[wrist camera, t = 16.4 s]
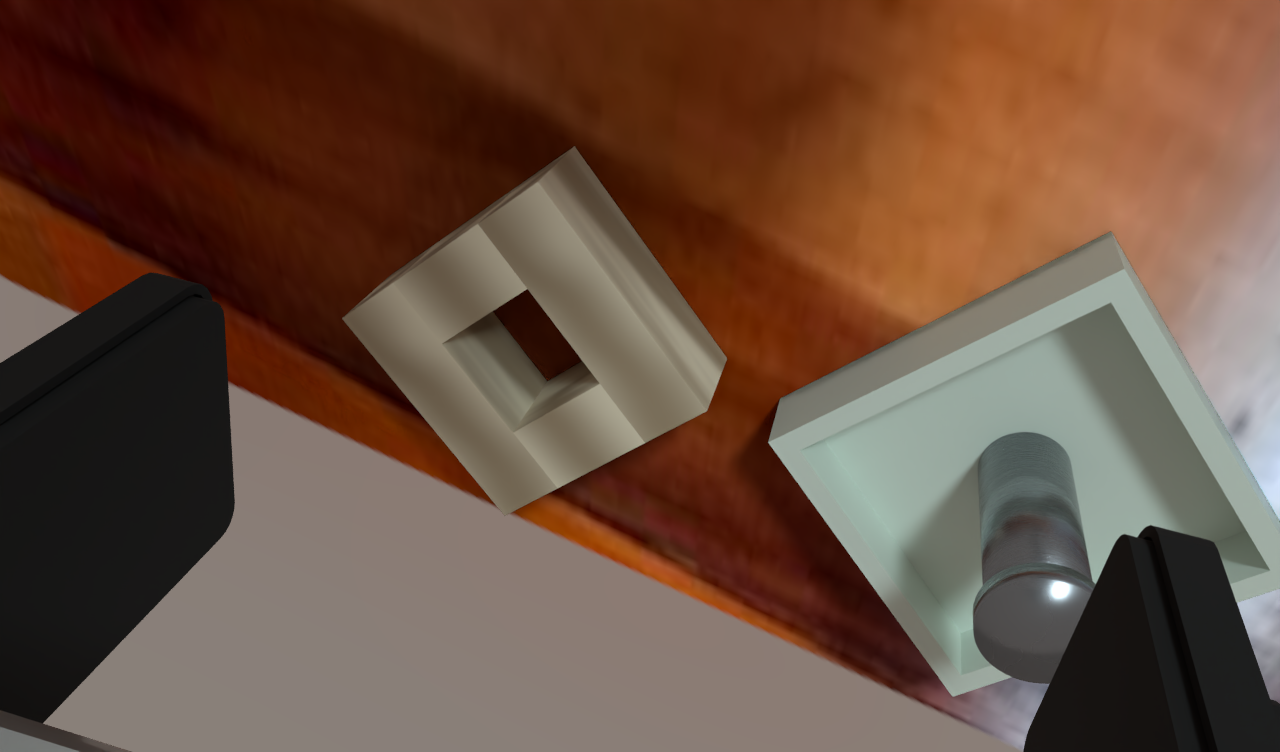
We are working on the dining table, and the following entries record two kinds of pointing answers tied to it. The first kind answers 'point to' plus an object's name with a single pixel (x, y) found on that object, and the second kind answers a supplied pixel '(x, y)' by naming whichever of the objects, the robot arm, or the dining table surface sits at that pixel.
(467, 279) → the pin block
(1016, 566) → the steel pin
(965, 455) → the tray
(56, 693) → the robot arm
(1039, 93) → the dining table surface
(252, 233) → the dining table surface
